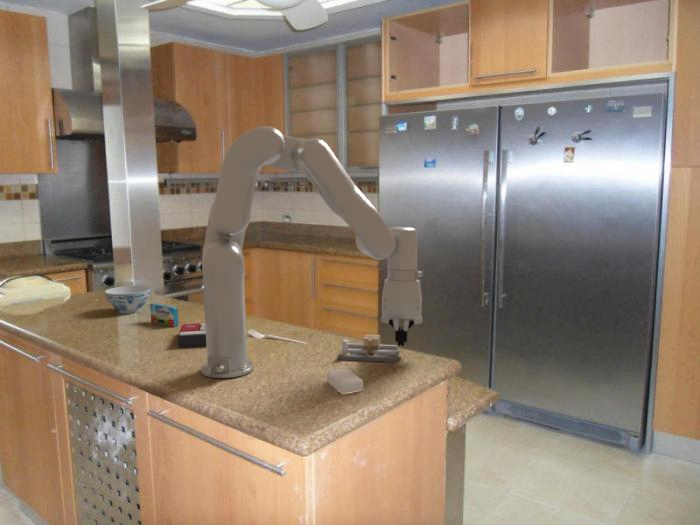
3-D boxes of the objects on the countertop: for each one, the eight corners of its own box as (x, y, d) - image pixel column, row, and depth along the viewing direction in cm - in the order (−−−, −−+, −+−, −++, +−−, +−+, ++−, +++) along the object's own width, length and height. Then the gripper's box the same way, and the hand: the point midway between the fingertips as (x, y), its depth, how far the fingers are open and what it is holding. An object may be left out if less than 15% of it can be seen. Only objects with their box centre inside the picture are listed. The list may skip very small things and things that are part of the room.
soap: (325, 383, 133) (325, 370, 133) (348, 379, 135) (347, 367, 135) (340, 396, 125) (340, 383, 125) (364, 392, 127) (364, 379, 127)
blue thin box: (178, 326, 184) (177, 307, 183) (174, 327, 183) (173, 308, 182) (155, 321, 191) (153, 302, 190) (151, 322, 190) (150, 303, 189)
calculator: (219, 321, 177) (218, 331, 162) (219, 335, 177) (219, 346, 163) (181, 323, 175) (177, 333, 160) (182, 337, 175) (178, 348, 161)
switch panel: (396, 362, 147) (396, 345, 146) (337, 359, 149) (337, 342, 149) (399, 351, 156) (399, 335, 155) (344, 349, 158) (343, 333, 157)
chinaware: (135, 304, 216) (134, 284, 214) (160, 310, 207) (159, 288, 206) (97, 312, 204) (96, 290, 202) (122, 318, 195) (121, 295, 194)
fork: (303, 347, 163) (303, 341, 163) (246, 337, 172) (246, 331, 172) (309, 344, 166) (309, 338, 165) (253, 334, 175) (253, 328, 175)
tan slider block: (377, 355, 149) (377, 341, 148) (361, 354, 150) (361, 341, 149) (380, 347, 155) (380, 335, 155) (365, 347, 156) (365, 334, 155)
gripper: (432, 273, 152) (430, 342, 154) (374, 272, 154) (374, 339, 157) (431, 278, 144) (429, 350, 147) (371, 276, 147) (370, 347, 150)
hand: (401, 344), depth 152 cm, fingers closed
